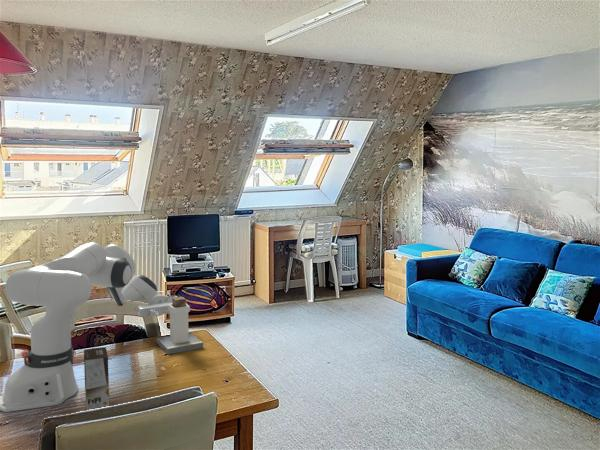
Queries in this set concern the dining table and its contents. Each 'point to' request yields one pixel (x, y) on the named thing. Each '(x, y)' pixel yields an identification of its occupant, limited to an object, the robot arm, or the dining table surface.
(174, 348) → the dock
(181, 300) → the block
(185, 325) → the white tall block
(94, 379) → the coffee box
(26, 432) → the dining table surface
